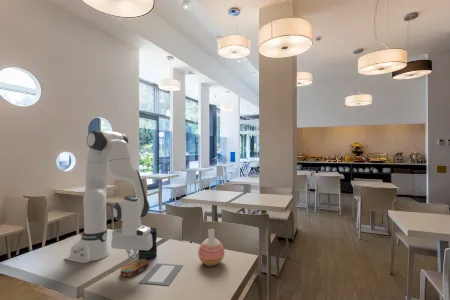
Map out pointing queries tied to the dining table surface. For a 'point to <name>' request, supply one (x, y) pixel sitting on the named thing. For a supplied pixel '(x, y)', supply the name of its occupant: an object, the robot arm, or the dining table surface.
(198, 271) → the dining table surface
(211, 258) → the vase
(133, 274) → the tin
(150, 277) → the mat
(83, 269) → the dining table surface
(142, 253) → the blue oil drum
